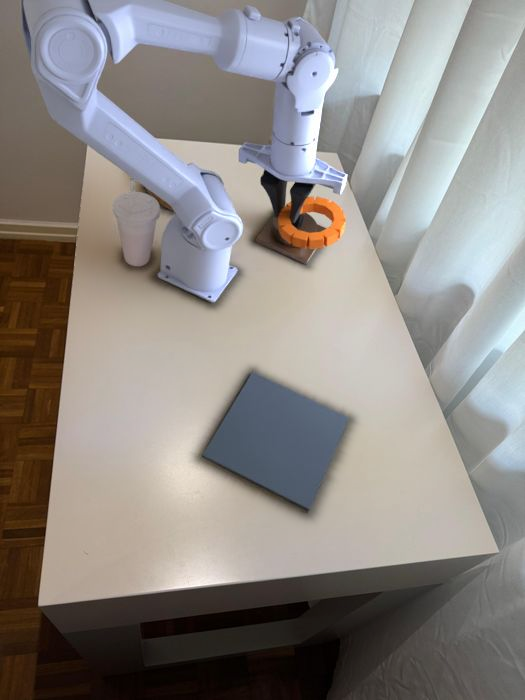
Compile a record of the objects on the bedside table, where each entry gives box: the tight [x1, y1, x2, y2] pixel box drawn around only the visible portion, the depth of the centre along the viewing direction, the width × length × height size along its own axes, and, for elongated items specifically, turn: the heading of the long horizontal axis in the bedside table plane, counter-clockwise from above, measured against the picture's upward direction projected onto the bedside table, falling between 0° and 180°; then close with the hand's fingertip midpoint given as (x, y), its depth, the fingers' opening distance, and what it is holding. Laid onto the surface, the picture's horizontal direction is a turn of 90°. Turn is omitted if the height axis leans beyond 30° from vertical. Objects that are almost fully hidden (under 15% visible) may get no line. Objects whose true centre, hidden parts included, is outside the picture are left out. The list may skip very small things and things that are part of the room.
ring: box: [278, 195, 347, 250], centre depth 81 cm, size 9×9×2 cm
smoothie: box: [112, 177, 161, 267], centre depth 80 cm, size 6×6×14 cm
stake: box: [255, 213, 328, 265], centre depth 91 cm, size 9×9×8 cm
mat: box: [202, 371, 350, 511], centre depth 71 cm, size 14×14×1 cm
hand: (286, 216), depth 82 cm, fingers closed on ring, 2 cm apart
